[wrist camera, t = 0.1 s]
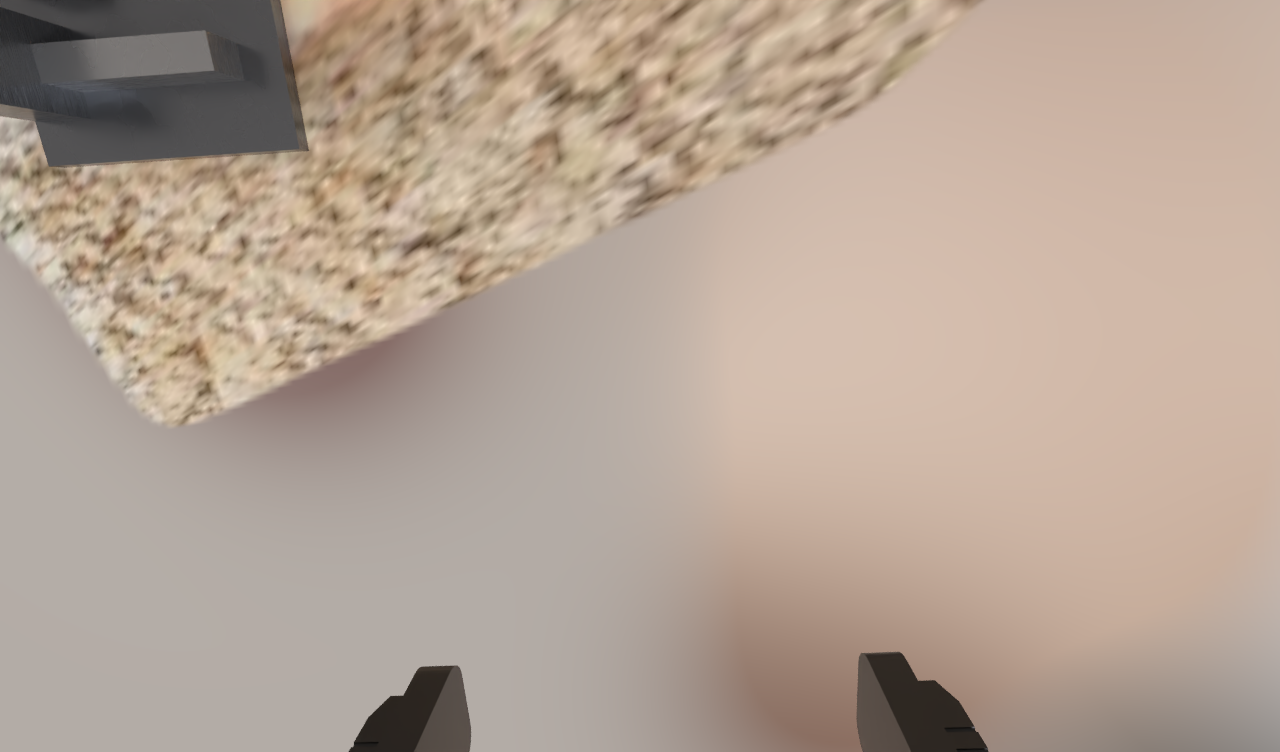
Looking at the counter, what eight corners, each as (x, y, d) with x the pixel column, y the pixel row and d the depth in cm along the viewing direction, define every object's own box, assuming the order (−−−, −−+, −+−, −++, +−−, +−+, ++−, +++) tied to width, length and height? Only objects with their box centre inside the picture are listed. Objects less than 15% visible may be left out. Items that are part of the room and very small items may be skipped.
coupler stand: (-12, -89, 34) (-176, -163, 28) (257, -113, 34) (157, -195, 27) (64, 167, 38) (-64, 157, 31) (308, 150, 37) (231, 136, 30)
